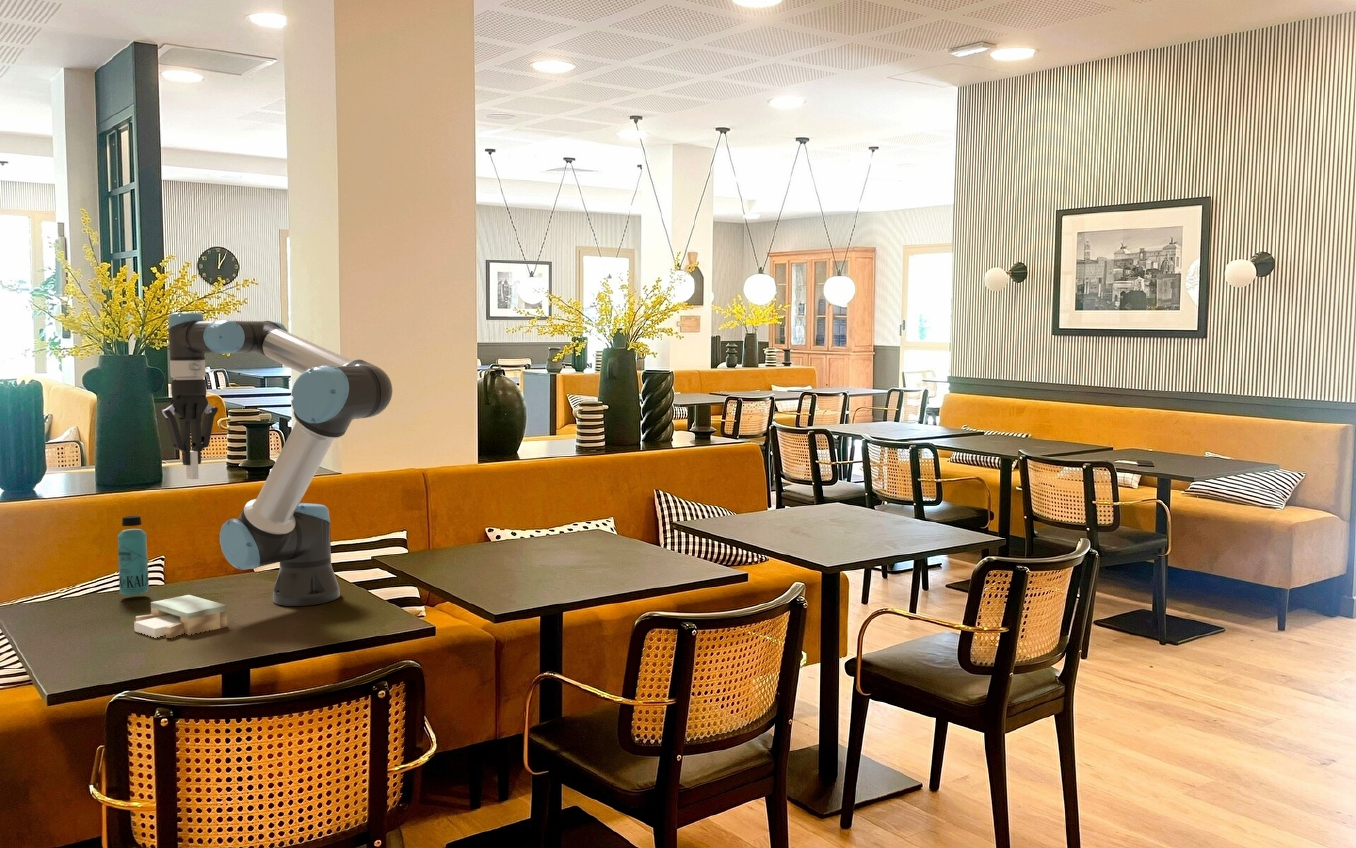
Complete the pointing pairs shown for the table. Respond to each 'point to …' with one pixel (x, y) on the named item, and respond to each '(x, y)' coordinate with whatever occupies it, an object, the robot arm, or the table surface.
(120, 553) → the beverage bottle
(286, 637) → the table surface
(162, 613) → the miniature low table
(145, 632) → the white eraser slab
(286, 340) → the robot arm
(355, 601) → the table surface
